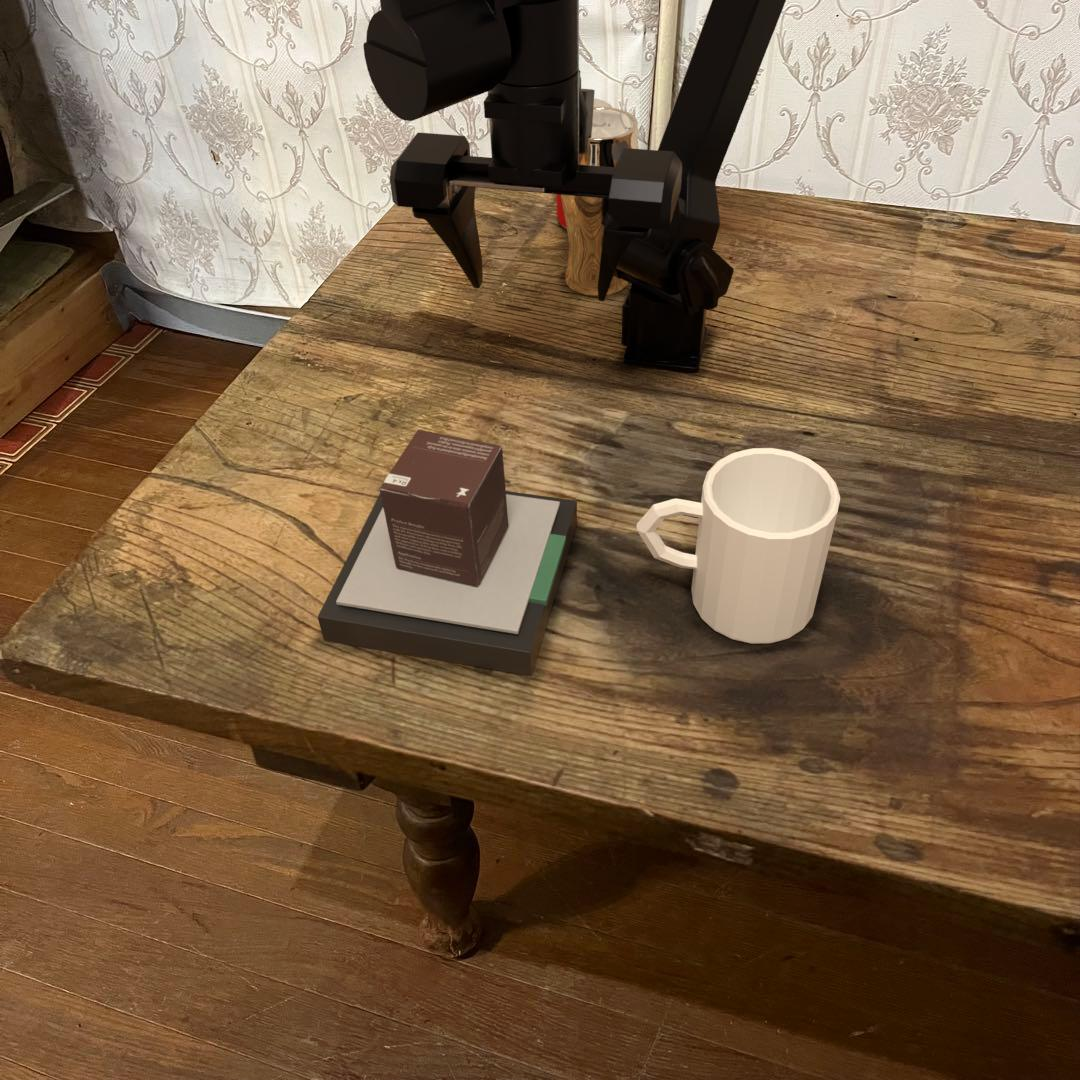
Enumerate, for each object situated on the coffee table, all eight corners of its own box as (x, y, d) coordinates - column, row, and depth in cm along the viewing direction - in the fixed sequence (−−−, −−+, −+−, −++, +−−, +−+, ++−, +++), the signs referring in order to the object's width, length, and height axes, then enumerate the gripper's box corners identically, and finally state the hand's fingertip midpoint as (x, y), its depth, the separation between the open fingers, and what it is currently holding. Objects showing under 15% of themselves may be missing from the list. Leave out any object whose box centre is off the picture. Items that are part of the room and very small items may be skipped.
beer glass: (628, 302, 95) (634, 142, 84) (554, 295, 96) (550, 137, 86) (638, 263, 100) (645, 107, 89) (567, 257, 101) (566, 103, 90)
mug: (629, 556, 72) (634, 448, 65) (802, 554, 72) (826, 445, 65) (636, 646, 66) (642, 538, 60) (824, 644, 66) (852, 535, 59)
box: (511, 527, 70) (505, 444, 65) (478, 590, 66) (469, 507, 61) (429, 509, 72) (417, 426, 67) (392, 569, 68) (376, 486, 63)
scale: (578, 524, 75) (578, 494, 72) (533, 676, 65) (531, 646, 63) (393, 498, 77) (388, 467, 75) (323, 640, 68) (315, 610, 66)
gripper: (701, 30, 67) (684, 247, 78) (427, 15, 71) (448, 226, 82) (676, 99, 60) (662, 329, 71) (372, 79, 63) (403, 301, 74)
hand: (539, 291), depth 75 cm, fingers open, 9 cm apart
